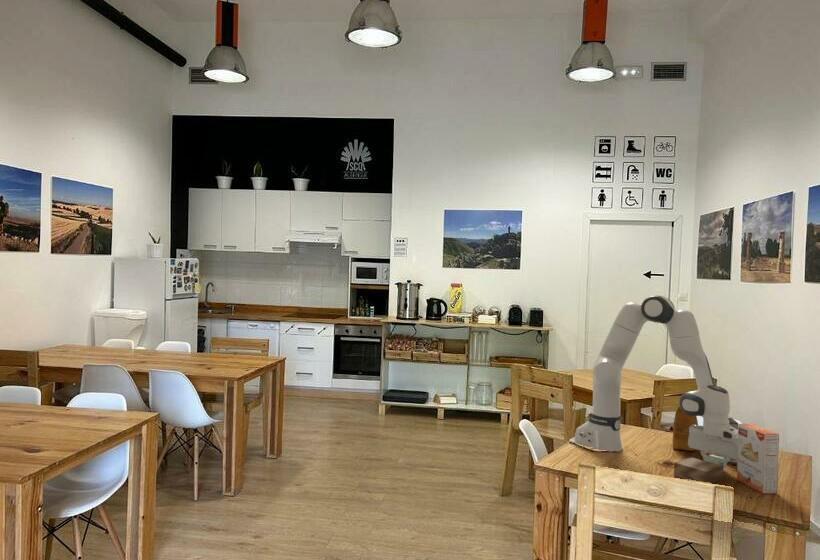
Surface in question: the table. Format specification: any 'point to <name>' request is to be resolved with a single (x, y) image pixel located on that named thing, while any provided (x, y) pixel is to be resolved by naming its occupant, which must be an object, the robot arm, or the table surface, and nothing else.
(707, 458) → the sage cube
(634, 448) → the table surface
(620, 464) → the table surface
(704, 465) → the walnut block
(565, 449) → the table surface
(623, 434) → the table surface
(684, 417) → the coffee package
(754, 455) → the cracker box
